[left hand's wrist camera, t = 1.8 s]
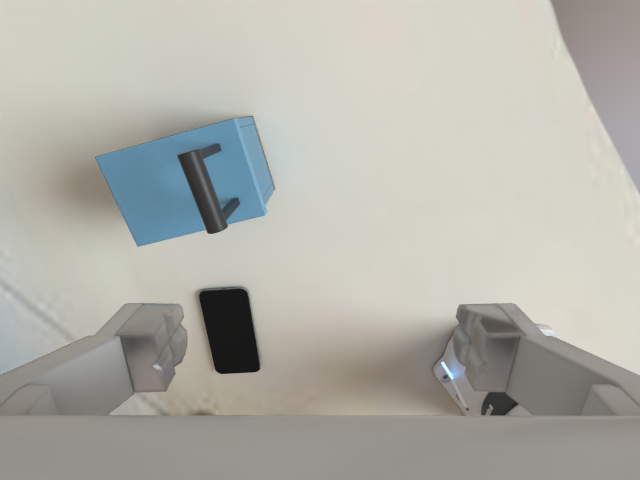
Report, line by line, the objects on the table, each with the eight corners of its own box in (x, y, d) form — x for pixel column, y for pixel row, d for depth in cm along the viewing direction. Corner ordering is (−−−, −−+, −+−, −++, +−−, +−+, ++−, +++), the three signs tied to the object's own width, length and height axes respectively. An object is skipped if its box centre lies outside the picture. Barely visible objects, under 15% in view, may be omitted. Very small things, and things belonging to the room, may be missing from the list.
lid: (237, 117, 32) (207, 122, 24) (267, 211, 36) (250, 244, 27) (102, 155, 34) (30, 171, 25) (143, 242, 37) (90, 282, 29)
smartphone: (247, 288, 51) (261, 372, 56) (248, 286, 51) (262, 369, 56) (197, 291, 51) (215, 374, 56) (198, 289, 51) (217, 371, 57)
